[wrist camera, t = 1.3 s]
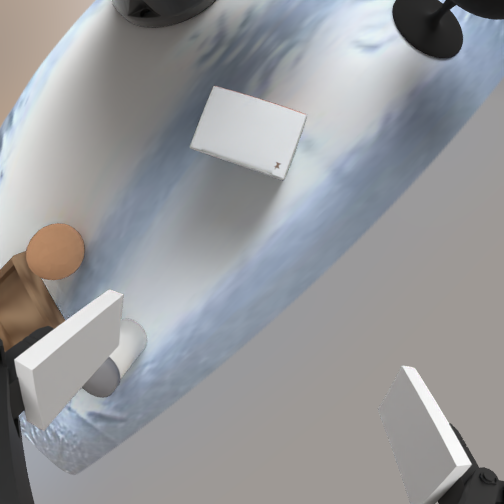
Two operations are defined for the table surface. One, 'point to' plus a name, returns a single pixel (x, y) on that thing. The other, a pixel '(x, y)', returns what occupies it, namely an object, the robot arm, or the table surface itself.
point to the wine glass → (439, 22)
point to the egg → (55, 252)
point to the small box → (249, 132)
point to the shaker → (118, 360)
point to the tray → (24, 302)
